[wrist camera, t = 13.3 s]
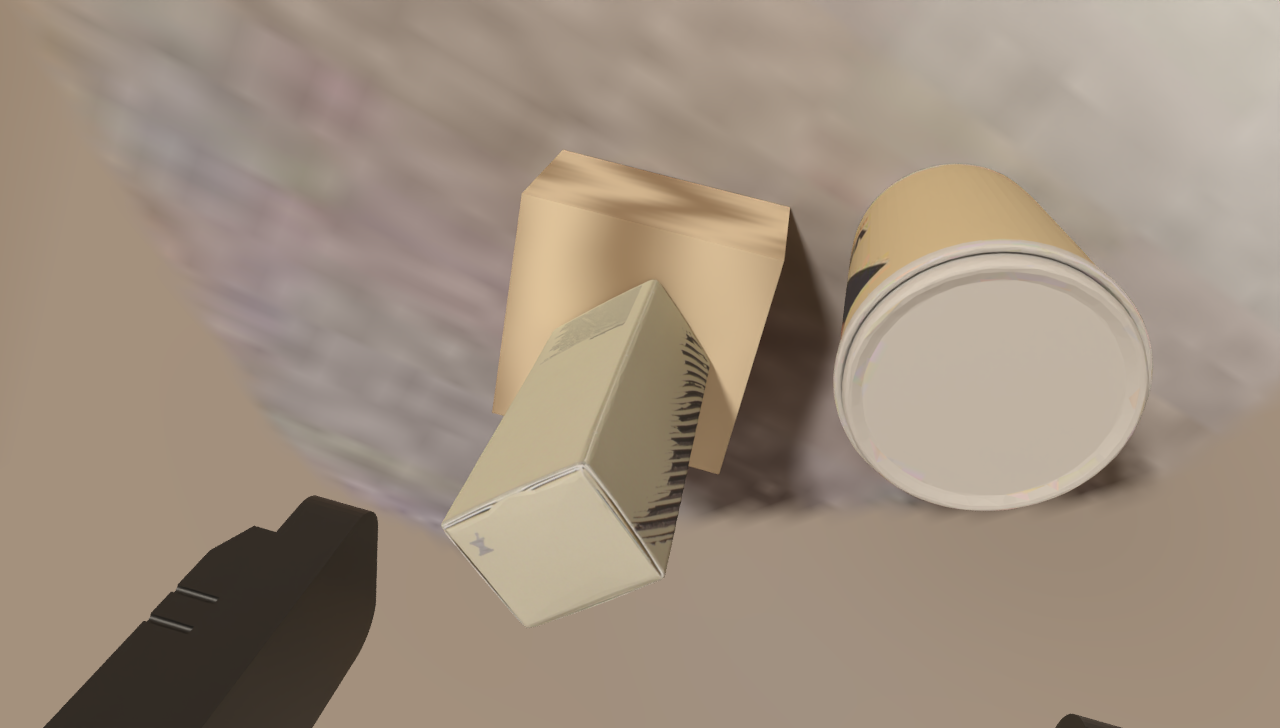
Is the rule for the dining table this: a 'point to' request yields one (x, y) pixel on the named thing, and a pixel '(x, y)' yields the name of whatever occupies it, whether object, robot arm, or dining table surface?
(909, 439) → the coffee cup
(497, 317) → the dining table surface
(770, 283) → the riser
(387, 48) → the dining table surface
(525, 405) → the box
